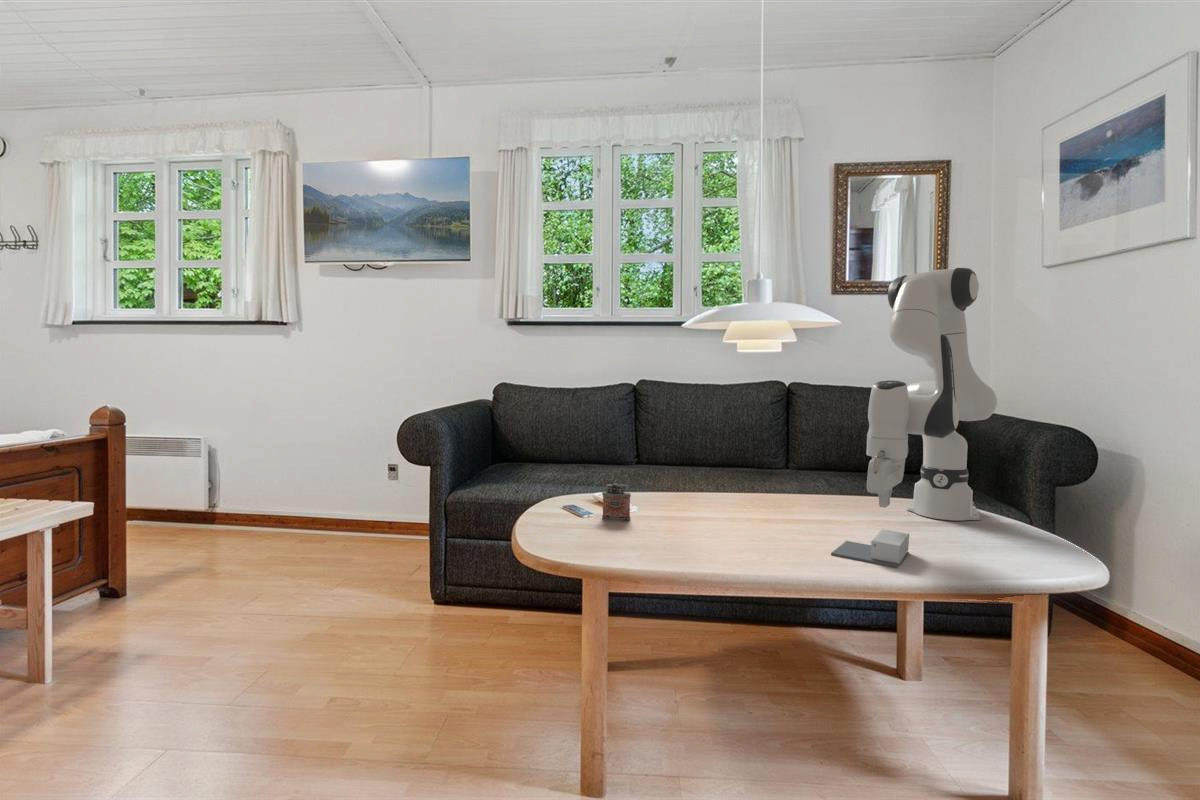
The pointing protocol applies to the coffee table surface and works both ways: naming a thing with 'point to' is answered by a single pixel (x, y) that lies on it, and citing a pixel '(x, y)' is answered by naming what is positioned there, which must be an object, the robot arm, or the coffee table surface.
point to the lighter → (616, 503)
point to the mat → (861, 553)
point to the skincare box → (889, 546)
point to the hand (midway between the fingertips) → (884, 506)
